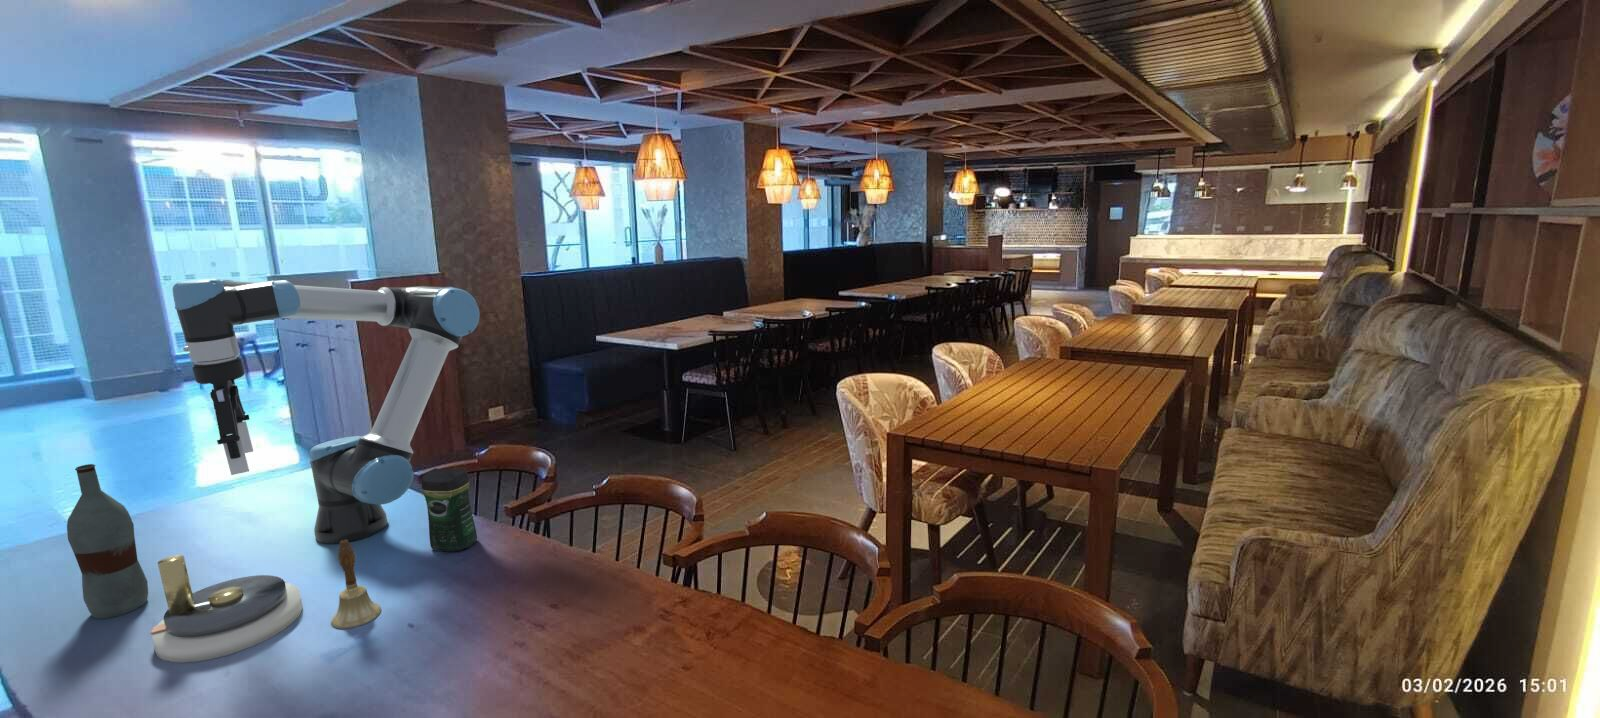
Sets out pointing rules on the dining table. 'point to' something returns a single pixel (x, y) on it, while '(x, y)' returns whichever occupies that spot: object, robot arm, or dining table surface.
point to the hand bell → (352, 595)
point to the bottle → (105, 550)
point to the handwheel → (215, 600)
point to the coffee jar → (449, 509)
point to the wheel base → (227, 634)
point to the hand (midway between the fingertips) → (242, 462)
